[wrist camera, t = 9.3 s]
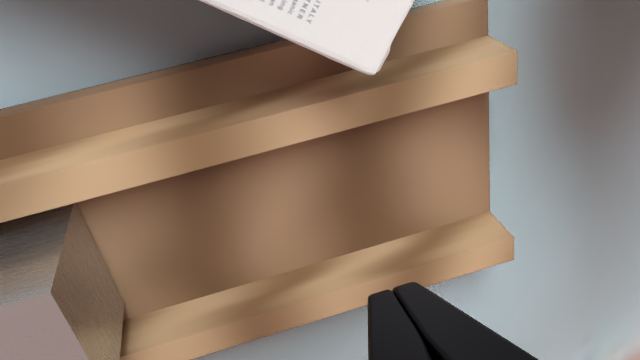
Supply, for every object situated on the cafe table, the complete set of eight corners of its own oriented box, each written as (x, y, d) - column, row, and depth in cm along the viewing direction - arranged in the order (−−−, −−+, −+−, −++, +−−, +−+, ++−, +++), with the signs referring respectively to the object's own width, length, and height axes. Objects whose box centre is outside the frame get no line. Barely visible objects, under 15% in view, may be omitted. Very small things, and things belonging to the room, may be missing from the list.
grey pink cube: (74, 200, 20) (50, 292, 15) (124, 302, 22) (115, 405, 18) (-74, 239, 19) (-142, 347, 15) (-5, 340, 22) (-45, 456, 17)
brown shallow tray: (476, -8, 20) (535, 16, 17) (482, 246, 27) (525, 299, 23) (-196, 157, 18) (-275, 222, 14) (-13, 397, 24) (-41, 480, 21)
